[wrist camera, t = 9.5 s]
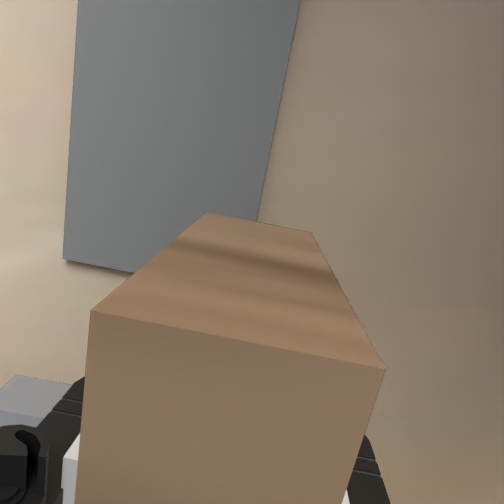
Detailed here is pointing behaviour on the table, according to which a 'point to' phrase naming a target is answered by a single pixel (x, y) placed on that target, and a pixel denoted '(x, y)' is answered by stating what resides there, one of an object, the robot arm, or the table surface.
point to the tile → (29, 400)
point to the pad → (169, 120)
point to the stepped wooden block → (226, 375)
